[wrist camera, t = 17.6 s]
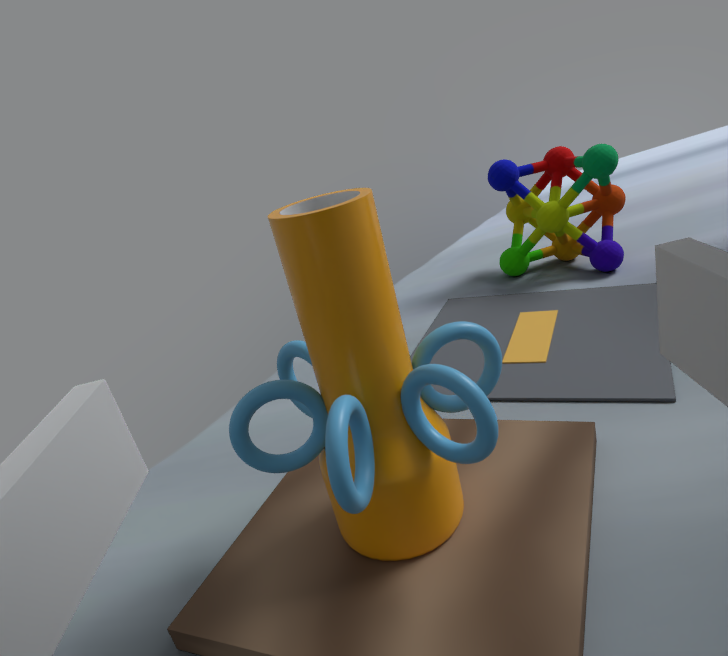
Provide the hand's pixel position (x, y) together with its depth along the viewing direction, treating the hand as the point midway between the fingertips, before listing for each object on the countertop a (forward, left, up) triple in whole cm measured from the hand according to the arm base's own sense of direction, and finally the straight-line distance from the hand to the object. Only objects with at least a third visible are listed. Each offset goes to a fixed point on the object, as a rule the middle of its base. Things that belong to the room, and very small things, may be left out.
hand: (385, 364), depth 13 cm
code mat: (+2, -29, -13) cm, 32 cm away
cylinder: (+5, -8, -12) cm, 16 cm away
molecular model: (+1, -45, -14) cm, 47 cm away
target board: (+5, -8, -13) cm, 16 cm away
